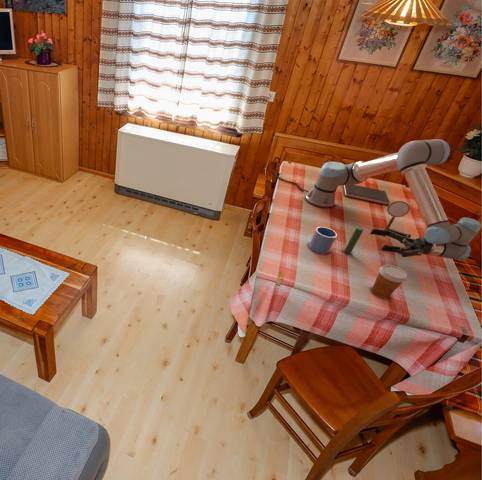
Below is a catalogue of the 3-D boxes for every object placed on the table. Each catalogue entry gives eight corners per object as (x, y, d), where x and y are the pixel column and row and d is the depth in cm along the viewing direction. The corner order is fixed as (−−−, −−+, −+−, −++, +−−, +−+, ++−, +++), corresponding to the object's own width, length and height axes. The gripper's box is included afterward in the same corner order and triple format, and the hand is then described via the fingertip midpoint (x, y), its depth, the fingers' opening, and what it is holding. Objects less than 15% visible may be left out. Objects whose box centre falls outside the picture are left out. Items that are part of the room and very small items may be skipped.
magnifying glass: (392, 236, 194) (412, 203, 182) (393, 238, 192) (413, 204, 181) (373, 231, 197) (392, 198, 185) (373, 233, 195) (392, 200, 184)
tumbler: (305, 247, 182) (313, 231, 176) (313, 240, 187) (320, 224, 182) (324, 256, 177) (332, 239, 171) (331, 248, 182) (340, 232, 176)
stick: (342, 252, 180) (355, 228, 172) (344, 249, 182) (357, 225, 174) (349, 255, 178) (362, 230, 170) (351, 252, 180) (364, 228, 172)
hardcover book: (387, 205, 222) (389, 201, 220) (344, 196, 229) (346, 192, 227) (383, 193, 234) (385, 190, 232) (342, 185, 241) (344, 182, 240)
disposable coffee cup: (389, 288, 160) (404, 267, 153) (396, 303, 152) (411, 281, 145) (365, 283, 162) (378, 261, 155) (370, 297, 154) (384, 275, 148)
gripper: (436, 269, 162) (383, 261, 165) (410, 238, 182) (364, 231, 185) (446, 256, 158) (392, 248, 161) (419, 225, 178) (371, 218, 181)
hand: (377, 239), depth 173 cm, fingers open, 13 cm apart
